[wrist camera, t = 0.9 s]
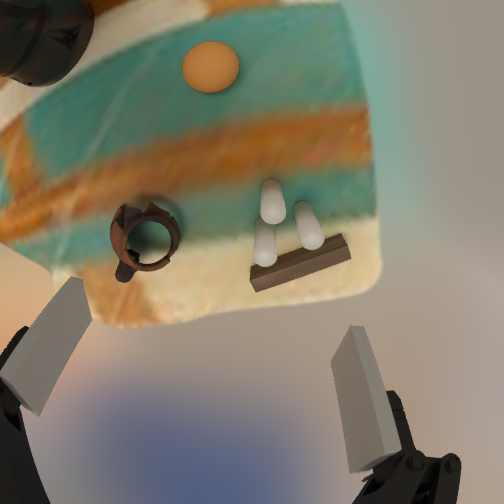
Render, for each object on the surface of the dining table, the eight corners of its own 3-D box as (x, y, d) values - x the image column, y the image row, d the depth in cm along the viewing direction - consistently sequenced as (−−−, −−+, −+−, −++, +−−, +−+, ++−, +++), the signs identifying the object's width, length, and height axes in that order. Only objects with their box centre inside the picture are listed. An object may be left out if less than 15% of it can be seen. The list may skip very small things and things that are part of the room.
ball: (182, 62, 26) (165, 53, 21) (228, 40, 25) (221, 25, 19) (202, 103, 28) (189, 100, 23) (250, 81, 27) (246, 74, 22)
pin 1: (252, 219, 35) (249, 250, 28) (270, 212, 35) (271, 242, 27) (260, 235, 36) (258, 269, 29) (277, 228, 36) (280, 262, 28)
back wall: (250, 266, 38) (249, 280, 35) (340, 233, 35) (347, 245, 32) (256, 277, 39) (255, 292, 36) (344, 246, 36) (351, 258, 33)
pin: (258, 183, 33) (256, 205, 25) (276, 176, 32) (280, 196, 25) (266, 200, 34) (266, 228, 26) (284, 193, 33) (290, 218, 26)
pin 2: (289, 204, 34) (296, 232, 27) (307, 198, 33) (320, 224, 26) (296, 221, 35) (304, 253, 28) (314, 214, 34) (327, 245, 27)
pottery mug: (122, 183, 34) (126, 197, 28) (181, 205, 40) (198, 223, 33) (96, 260, 36) (96, 290, 30) (152, 275, 42) (163, 304, 36)
